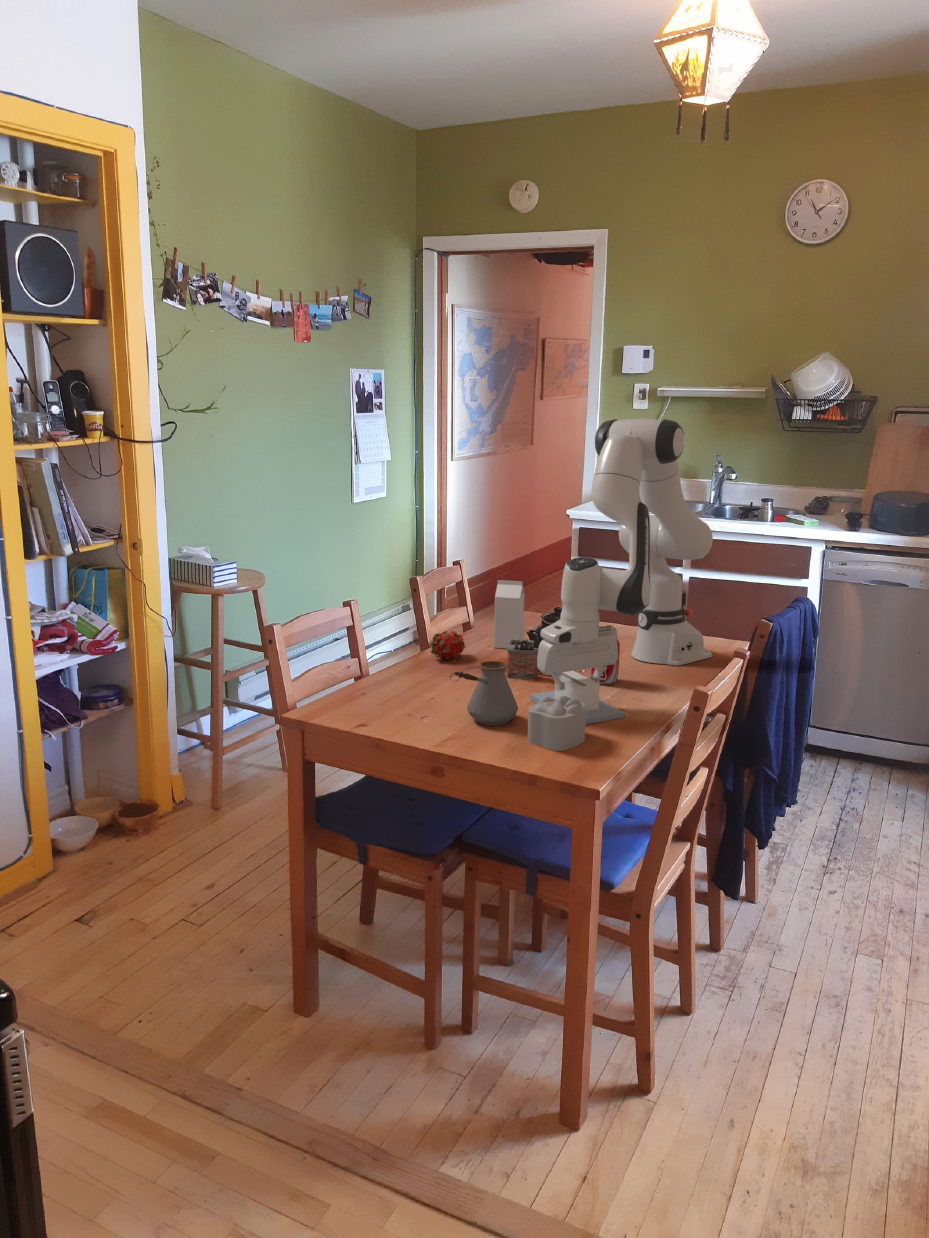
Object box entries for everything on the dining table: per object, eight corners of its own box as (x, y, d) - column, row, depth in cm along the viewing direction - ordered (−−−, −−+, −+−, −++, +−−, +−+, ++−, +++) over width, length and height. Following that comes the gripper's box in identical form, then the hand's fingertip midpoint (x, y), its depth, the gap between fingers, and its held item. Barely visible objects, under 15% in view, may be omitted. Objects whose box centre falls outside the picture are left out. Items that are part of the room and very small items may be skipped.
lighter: (538, 675, 247) (539, 638, 244) (537, 679, 243) (538, 641, 241) (506, 674, 247) (507, 637, 245) (506, 678, 244) (506, 640, 242)
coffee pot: (484, 707, 222) (485, 645, 219) (527, 717, 216) (529, 653, 213) (431, 734, 205) (431, 668, 202) (475, 746, 199) (476, 677, 195)
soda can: (622, 684, 240) (625, 638, 237) (596, 686, 238) (598, 640, 235) (610, 676, 247) (613, 631, 244) (585, 678, 245) (587, 633, 242)
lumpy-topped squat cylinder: (520, 740, 203) (521, 701, 201) (558, 724, 212) (559, 687, 210) (560, 753, 196) (561, 713, 194) (596, 736, 205) (598, 698, 203)
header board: (575, 691, 234) (576, 671, 233) (623, 717, 217) (625, 695, 216) (529, 699, 229) (530, 678, 227) (575, 726, 211) (576, 703, 210)
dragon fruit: (428, 668, 257) (459, 665, 266) (449, 655, 252) (479, 652, 261) (418, 639, 259) (449, 637, 268) (438, 626, 254) (468, 624, 263)
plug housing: (572, 694, 228) (573, 669, 227) (598, 708, 219) (599, 682, 217) (554, 697, 226) (555, 672, 225) (580, 711, 217) (581, 685, 215)
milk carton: (518, 650, 269) (520, 584, 265) (494, 648, 271) (495, 582, 266) (523, 643, 276) (524, 579, 271) (499, 641, 278) (500, 577, 273)
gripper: (609, 621, 225) (606, 676, 229) (534, 631, 217) (533, 688, 220) (625, 627, 220) (622, 684, 223) (548, 638, 211) (547, 697, 215)
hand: (577, 686), depth 222 cm, fingers open, 8 cm apart
